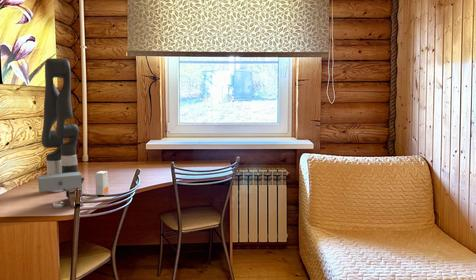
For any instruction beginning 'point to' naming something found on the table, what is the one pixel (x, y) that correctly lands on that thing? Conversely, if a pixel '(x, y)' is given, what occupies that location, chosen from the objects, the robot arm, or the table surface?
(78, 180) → the low cabinet
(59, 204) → the silver rounded piece
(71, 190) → the copper bar
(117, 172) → the table surface
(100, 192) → the skincare box
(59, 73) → the robot arm
